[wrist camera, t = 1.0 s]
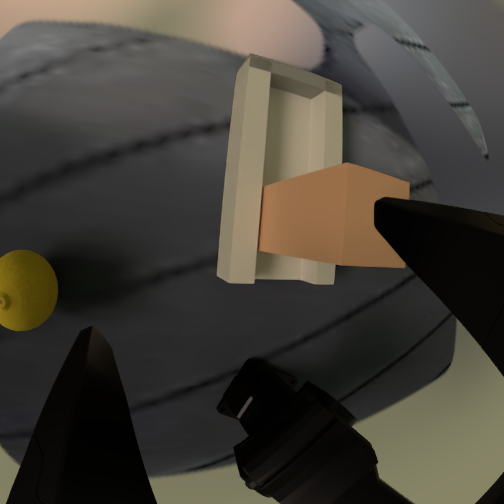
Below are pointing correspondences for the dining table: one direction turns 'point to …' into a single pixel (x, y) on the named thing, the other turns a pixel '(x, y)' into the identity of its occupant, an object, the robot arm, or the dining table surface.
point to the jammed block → (329, 216)
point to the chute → (274, 161)
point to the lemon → (26, 290)
